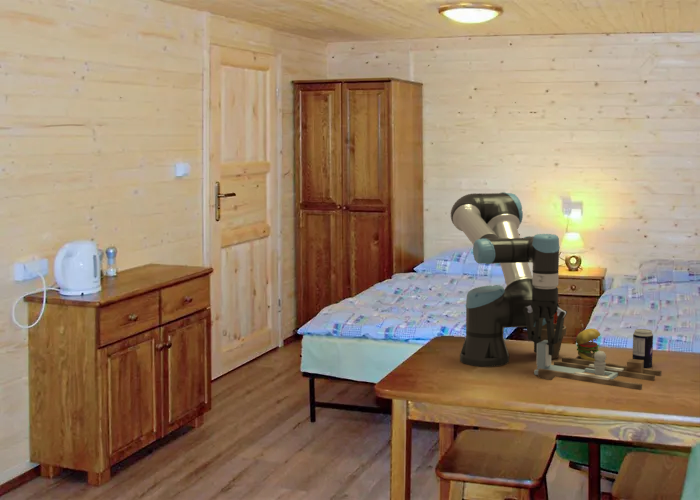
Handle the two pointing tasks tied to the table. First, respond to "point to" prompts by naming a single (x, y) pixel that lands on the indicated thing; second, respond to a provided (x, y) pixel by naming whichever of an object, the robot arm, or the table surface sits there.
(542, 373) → the lane rails
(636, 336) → the beverage can
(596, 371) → the chess piece
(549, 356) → the robot arm
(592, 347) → the hamburger
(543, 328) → the flower pot
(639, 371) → the walnut cube
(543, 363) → the pale grey slab
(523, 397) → the table surface
